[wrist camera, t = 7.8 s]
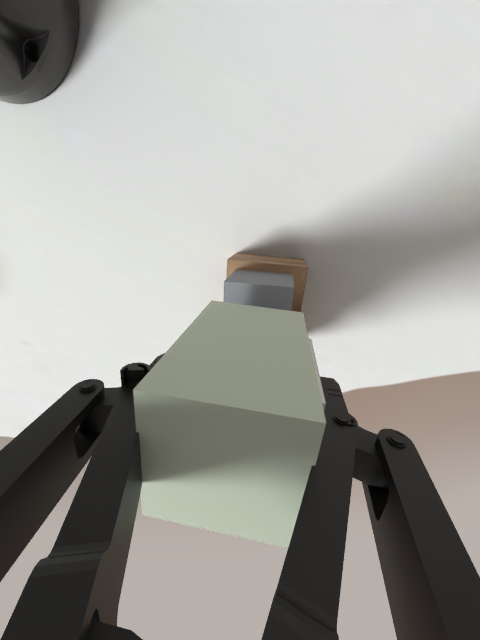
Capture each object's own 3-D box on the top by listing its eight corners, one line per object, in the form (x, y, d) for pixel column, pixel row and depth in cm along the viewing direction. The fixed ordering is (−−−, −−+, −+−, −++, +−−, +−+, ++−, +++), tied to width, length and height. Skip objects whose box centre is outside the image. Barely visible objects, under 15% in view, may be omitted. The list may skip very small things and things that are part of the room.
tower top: (235, 269, 24) (224, 281, 19) (292, 273, 23) (294, 287, 19) (232, 348, 27) (221, 376, 22) (282, 354, 26) (282, 384, 22)
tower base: (236, 252, 28) (227, 259, 24) (303, 259, 27) (307, 267, 23) (231, 330, 32) (222, 349, 27) (291, 337, 31) (292, 359, 26)
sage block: (211, 300, 18) (133, 389, 8) (303, 312, 17) (326, 423, 8) (208, 377, 20) (142, 514, 11) (289, 390, 19) (293, 549, 10)
